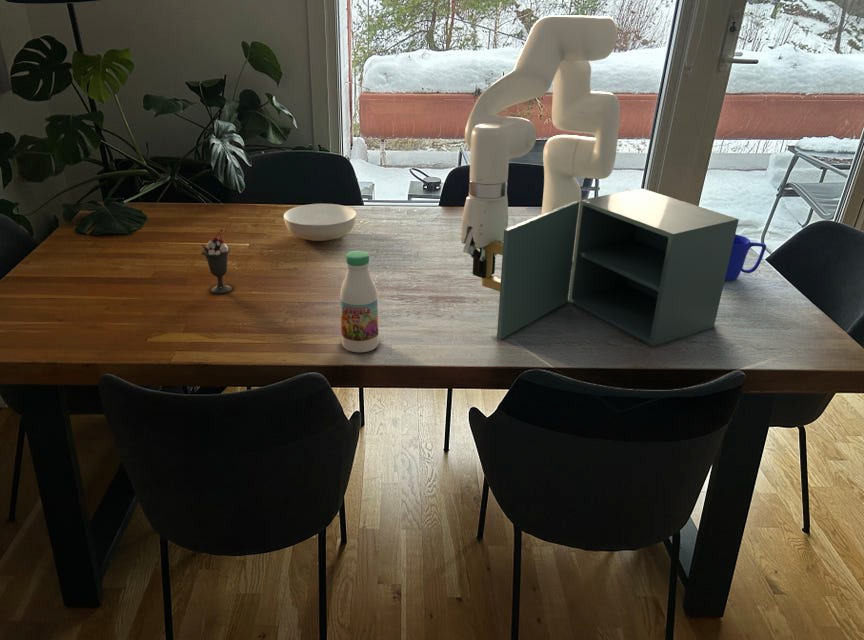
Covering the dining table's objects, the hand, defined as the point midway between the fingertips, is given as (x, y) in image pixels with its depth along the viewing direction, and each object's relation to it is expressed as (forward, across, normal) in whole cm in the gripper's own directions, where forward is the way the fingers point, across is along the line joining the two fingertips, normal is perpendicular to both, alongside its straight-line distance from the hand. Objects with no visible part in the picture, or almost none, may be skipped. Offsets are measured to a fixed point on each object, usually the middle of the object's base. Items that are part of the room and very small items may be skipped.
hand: (483, 273), depth 152 cm
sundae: (+12, +30, -57) cm, 66 cm away
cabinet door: (+12, -10, +4) cm, 15 cm away
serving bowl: (+12, -12, -70) cm, 72 cm away
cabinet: (+12, -29, +22) cm, 38 cm away
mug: (+12, -63, +27) cm, 70 cm away
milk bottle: (+12, +26, -11) cm, 30 cm away
